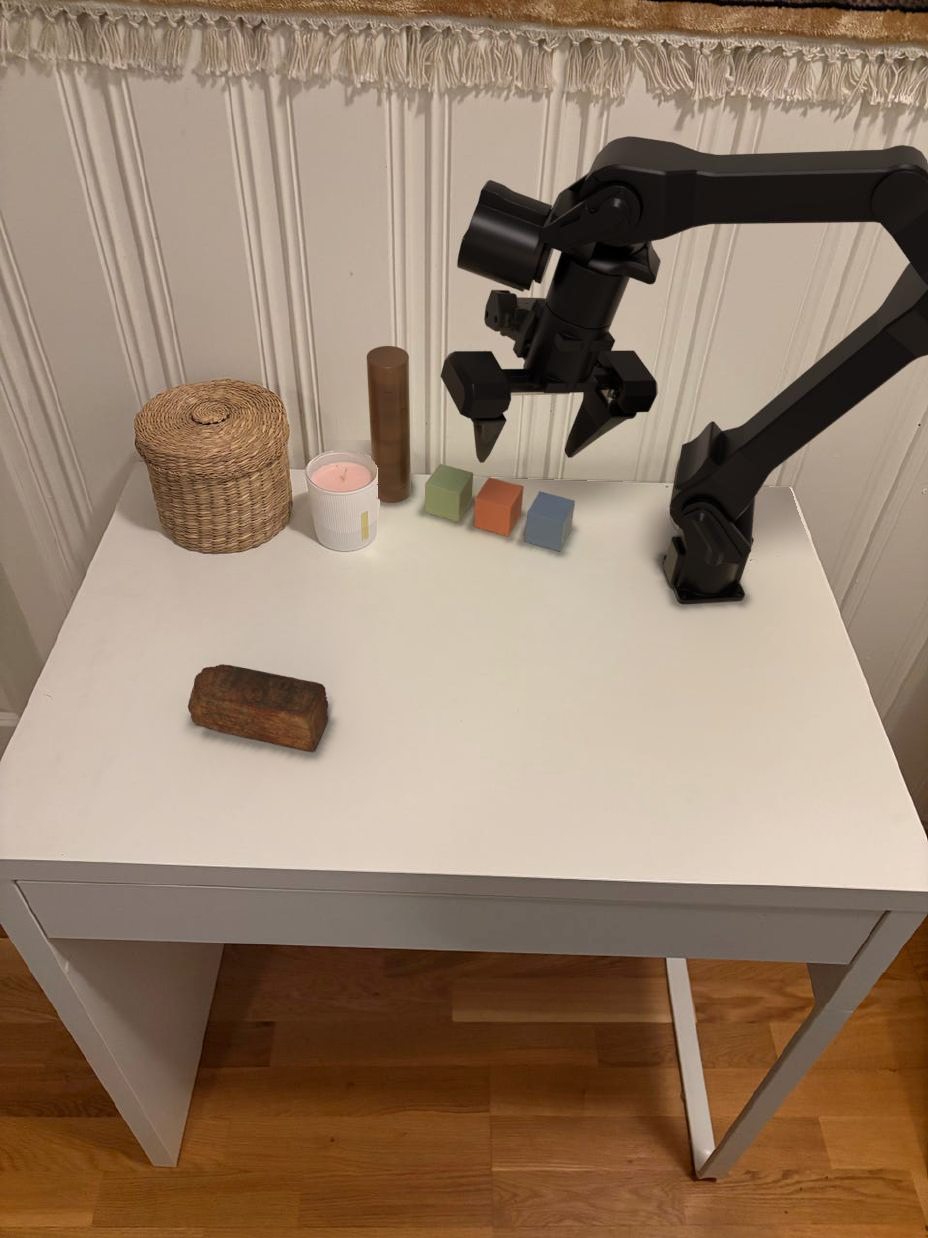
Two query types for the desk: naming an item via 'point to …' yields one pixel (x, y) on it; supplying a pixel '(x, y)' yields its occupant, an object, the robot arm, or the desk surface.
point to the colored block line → (499, 506)
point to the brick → (260, 706)
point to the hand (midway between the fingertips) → (524, 456)
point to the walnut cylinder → (390, 420)
